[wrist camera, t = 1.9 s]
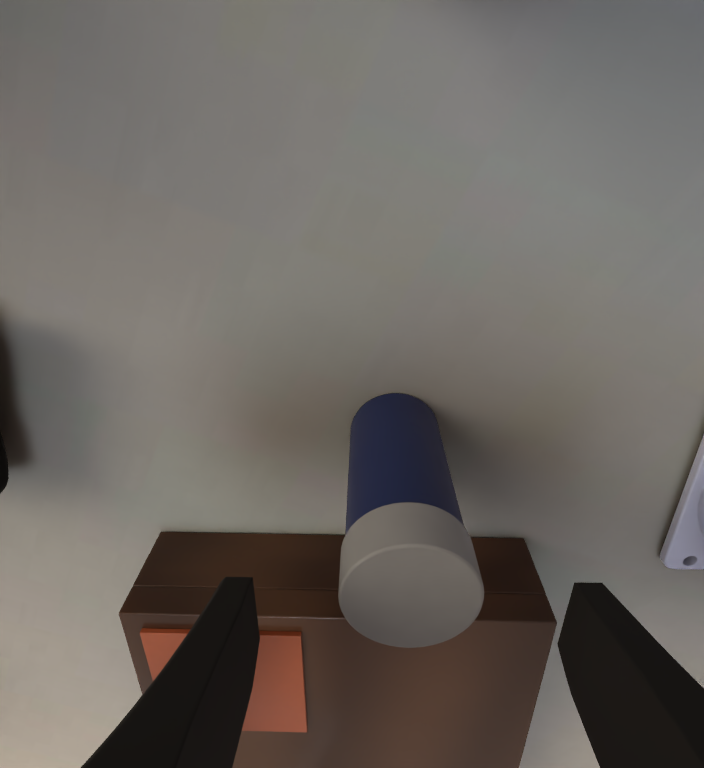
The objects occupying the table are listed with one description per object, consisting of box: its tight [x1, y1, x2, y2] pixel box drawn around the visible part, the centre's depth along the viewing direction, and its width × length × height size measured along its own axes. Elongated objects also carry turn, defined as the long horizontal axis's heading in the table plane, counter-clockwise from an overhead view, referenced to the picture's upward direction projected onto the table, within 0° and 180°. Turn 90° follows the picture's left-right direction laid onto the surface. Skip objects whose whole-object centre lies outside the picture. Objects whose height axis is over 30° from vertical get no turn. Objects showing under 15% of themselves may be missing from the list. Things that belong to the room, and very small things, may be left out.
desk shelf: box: [119, 532, 557, 768], centre depth 23 cm, size 15×18×4 cm
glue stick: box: [338, 393, 484, 648], centre depth 15 cm, size 3×3×8 cm
